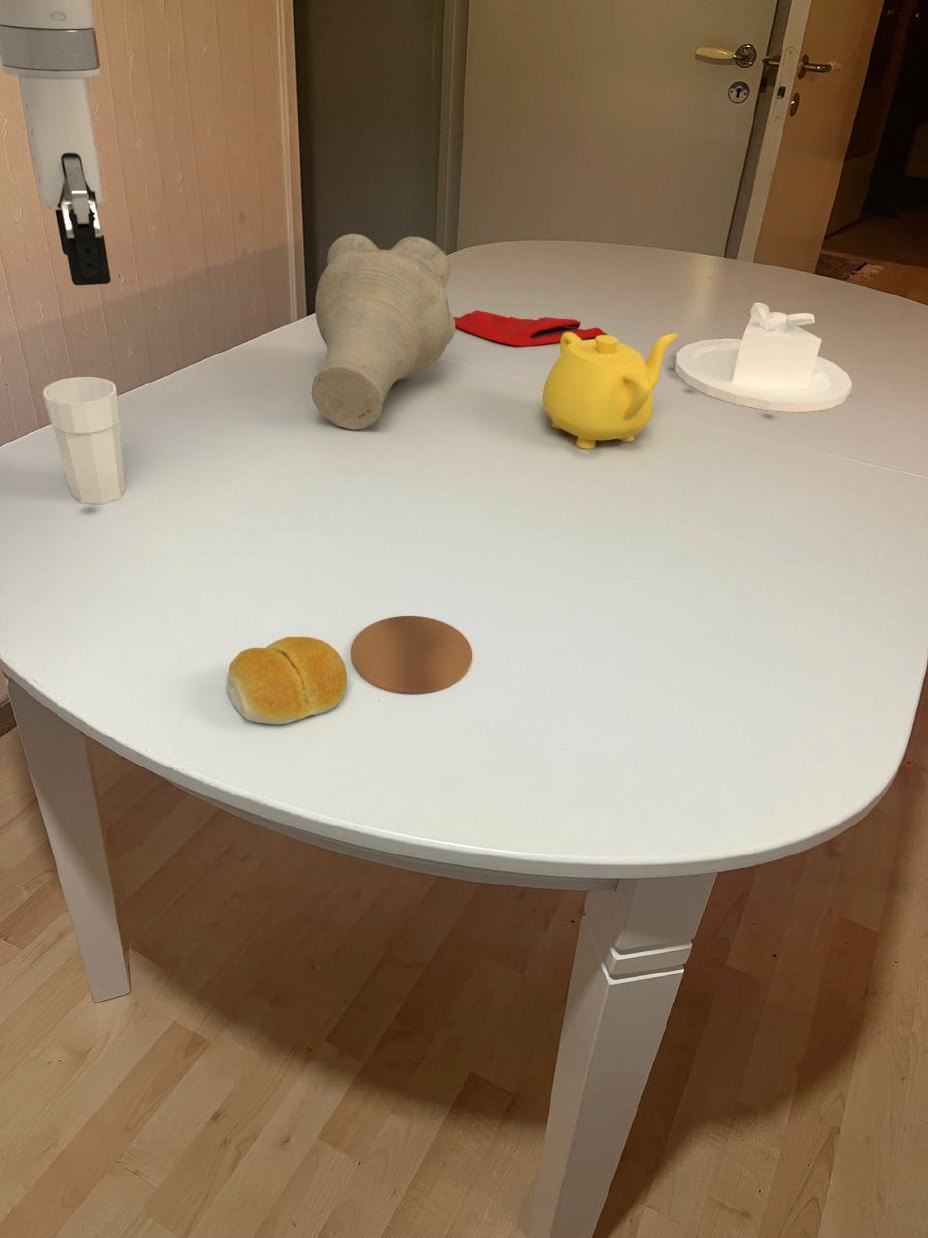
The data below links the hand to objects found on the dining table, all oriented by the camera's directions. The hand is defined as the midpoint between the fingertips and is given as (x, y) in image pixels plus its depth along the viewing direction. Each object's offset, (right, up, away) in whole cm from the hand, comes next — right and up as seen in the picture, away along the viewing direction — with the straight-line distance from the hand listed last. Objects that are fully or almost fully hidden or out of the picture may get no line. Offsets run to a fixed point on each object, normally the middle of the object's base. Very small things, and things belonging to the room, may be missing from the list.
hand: (86, 268), depth 85 cm
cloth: (+44, +12, +58) cm, 73 cm away
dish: (+78, +2, +49) cm, 92 cm away
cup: (-2, -20, +10) cm, 22 cm away
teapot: (+53, -9, +30) cm, 62 cm away
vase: (+22, -5, +33) cm, 40 cm away
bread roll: (+21, -38, -14) cm, 46 cm away
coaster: (+31, -35, -9) cm, 48 cm away
